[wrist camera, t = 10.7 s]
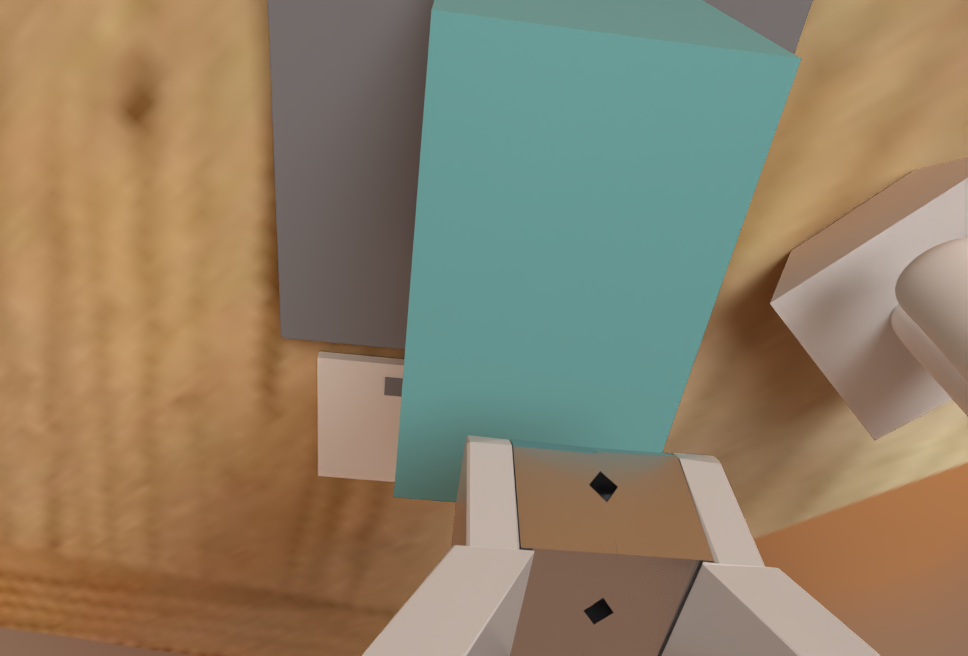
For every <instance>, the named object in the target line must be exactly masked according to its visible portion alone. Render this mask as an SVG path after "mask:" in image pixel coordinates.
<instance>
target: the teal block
mask: <svg viewBox="0 0 968 656" xmlns="http://www.w3.org/2000/svg"><path fill="white" fill-rule="evenodd" d="M800 61H801V58H799V57H798V56H796V55H794V54H793V53H791V52H789V51H787V50H786V49H784V48H782V47H781V46H779V45H777V44H776V43H774V42H772V41H770V40H769V39H767V38H765V37H764V36H762V35H760V34H759V33H757V32H755V31H754V30H752V29H750V28H748V27H747V26H745V25H743V24H742V23H740V22H738V21H737V20H735V19H733V18H732V17H730V16H728V15H726V14H725V13H723V12H721V11H720V10H718V9H716V8H715V7H713V6H711V5H710V4H708V3H706V2H704V1H703V0H434V3H433V6H432V10H431V23H430V36H429V49H428V61H427V74H426V87H425V100H424V113H423V126H422V139H421V152H420V165H419V178H418V190H417V203H416V216H415V229H414V242H413V255H412V268H411V281H410V294H409V307H408V319H407V332H406V345H405V358H404V371H403V384H402V397H401V410H400V423H399V435H398V448H397V461H396V474H395V487H394V497H396V498H409V499H422V500H434V501H447V502H456V499H457V492H458V485H459V479H460V472H461V465H462V459H463V452H464V445H465V441H466V438H467V436H468V435H471V436H480V437H489V438H499V439H508V440H509V441H510V439H516V440H525V441H535V442H544V443H554V444H563V445H572V446H582V447H592V448H606V449H619V450H632V451H646V452H659V453H662V451H663V449H664V446H665V443H666V440H667V437H668V434H669V432H670V429H671V426H672V423H673V420H674V417H675V415H676V412H677V409H678V406H679V403H680V400H681V398H682V395H683V392H684V389H685V386H686V383H687V381H688V378H689V375H690V372H691V369H692V366H693V364H694V361H695V358H696V355H697V352H698V349H699V347H700V344H701V341H702V338H703V335H704V332H705V330H706V327H707V324H708V321H709V318H710V315H711V313H712V310H713V307H714V304H715V301H716V298H717V296H718V293H719V290H720V287H721V284H722V281H723V279H724V276H725V273H726V270H727V267H728V264H729V262H730V259H731V256H732V253H733V250H734V247H735V245H736V242H737V239H738V236H739V233H740V230H741V228H742V225H743V222H744V219H745V216H746V213H747V211H748V208H749V205H750V202H751V199H752V196H753V194H754V191H755V188H756V185H757V182H758V179H759V177H760V174H761V171H762V168H763V165H764V162H765V160H766V157H767V154H768V151H769V148H770V145H771V143H772V140H773V137H774V134H775V131H776V128H777V126H778V123H779V120H780V117H781V114H782V112H783V109H784V106H785V103H786V100H787V97H788V95H789V92H790V89H791V86H792V83H793V80H794V78H795V75H796V72H797V69H798V66H799V63H800Z"/></svg>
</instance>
